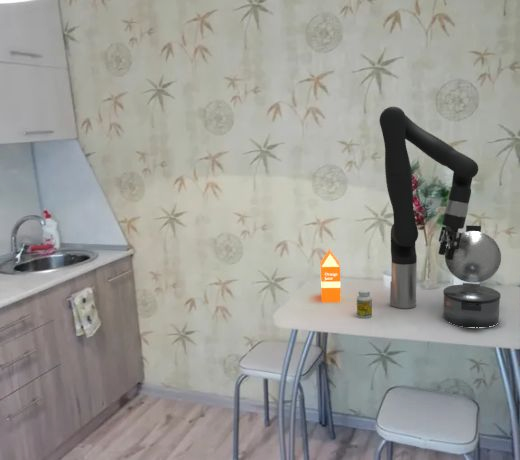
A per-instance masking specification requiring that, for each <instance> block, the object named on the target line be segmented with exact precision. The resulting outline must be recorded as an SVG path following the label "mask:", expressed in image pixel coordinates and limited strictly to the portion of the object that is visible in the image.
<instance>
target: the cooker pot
mask: <svg viewBox="0 0 520 460" xmlns="http://www.w3.org/2000/svg"><path fill="white" fill-rule="evenodd" d="M442 292H443V309H442V310H443V312H442V313H443V315H442V318H443V317H444V318H443V320H444V319H445V320H446V321H448V322H450V323H452V324H451V325H453V324H455V325H458V326H457V327H459V326H463V327H462V328H464V327H475V328H476V327H478V328H479V327H489V326H493V325H496V324H497V323H498V322H500V321H499V320H500V302H501V297H502V296H501V293H500V291H499V290H496V289H494V288H492V287H488V286H483V285H481V283H470V282H462V284H454V285H450V286H447V287H445V288H444V289H443V291H442ZM445 320H444V321H445ZM446 321H445V322H446ZM448 322H447V323H448ZM450 323H449V324H450ZM498 324H499V323H498ZM455 325H454V326H455ZM496 326H497V325H496Z"/></svg>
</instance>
